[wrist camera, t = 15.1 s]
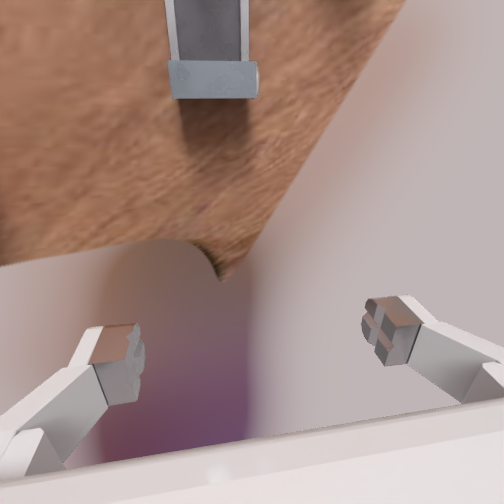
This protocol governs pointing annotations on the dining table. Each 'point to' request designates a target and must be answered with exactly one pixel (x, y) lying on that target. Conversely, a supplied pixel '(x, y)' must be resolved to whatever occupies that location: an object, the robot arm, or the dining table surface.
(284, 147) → the dining table surface
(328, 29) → the dining table surface
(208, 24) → the rail track
